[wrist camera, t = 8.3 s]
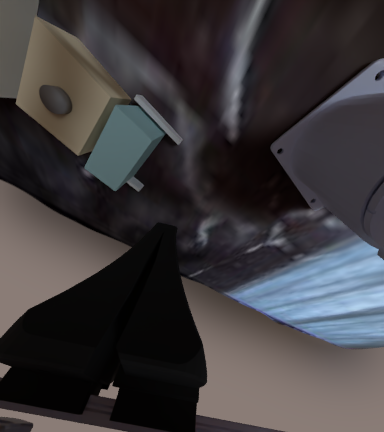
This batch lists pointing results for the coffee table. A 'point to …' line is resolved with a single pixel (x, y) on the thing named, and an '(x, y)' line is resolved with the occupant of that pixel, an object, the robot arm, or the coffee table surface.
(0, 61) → the press frame
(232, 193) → the coffee table surface
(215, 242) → the coffee table surface
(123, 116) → the block
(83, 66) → the block
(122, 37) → the coffee table surface
